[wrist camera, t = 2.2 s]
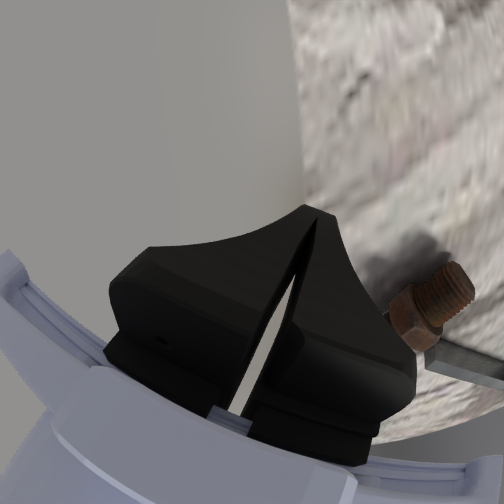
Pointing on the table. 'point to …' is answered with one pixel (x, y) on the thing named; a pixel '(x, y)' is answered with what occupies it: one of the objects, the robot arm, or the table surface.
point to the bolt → (429, 306)
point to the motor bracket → (464, 365)
